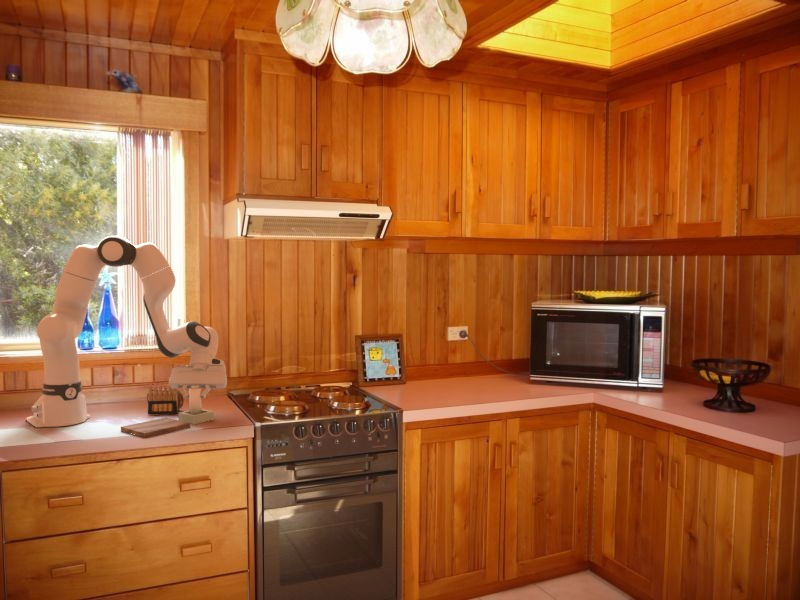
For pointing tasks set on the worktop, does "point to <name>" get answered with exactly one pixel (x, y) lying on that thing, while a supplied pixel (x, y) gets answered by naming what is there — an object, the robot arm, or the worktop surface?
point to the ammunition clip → (162, 400)
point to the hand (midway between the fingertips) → (194, 397)
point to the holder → (196, 416)
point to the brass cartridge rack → (179, 397)
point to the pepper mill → (194, 400)
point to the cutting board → (155, 427)
